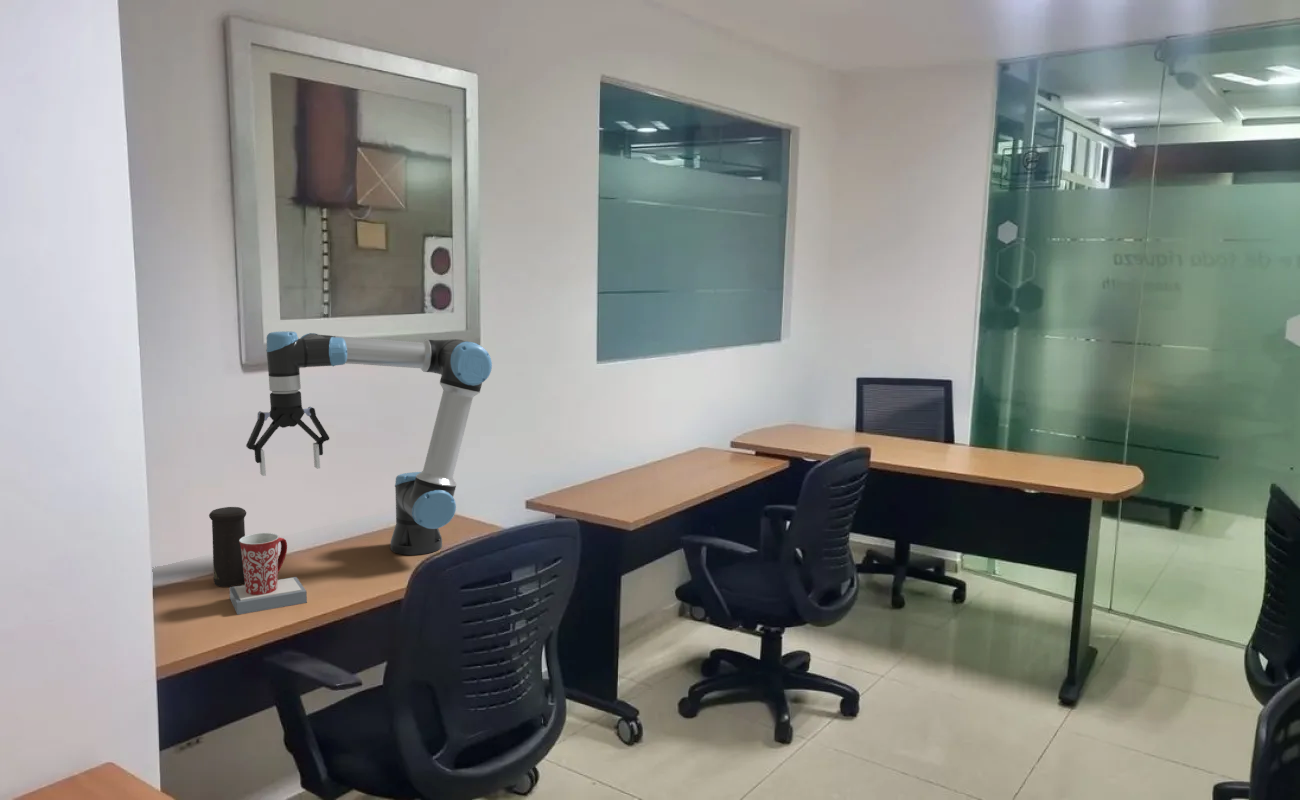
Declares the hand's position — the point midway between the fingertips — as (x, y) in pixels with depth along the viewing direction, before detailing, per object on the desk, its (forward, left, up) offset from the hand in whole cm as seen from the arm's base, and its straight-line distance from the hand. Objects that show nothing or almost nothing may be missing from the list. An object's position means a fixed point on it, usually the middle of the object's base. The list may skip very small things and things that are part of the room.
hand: (290, 471), depth 233 cm
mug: (+9, +11, -27) cm, 31 cm away
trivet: (+9, +12, -30) cm, 33 cm away
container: (+15, -7, -30) cm, 34 cm away
